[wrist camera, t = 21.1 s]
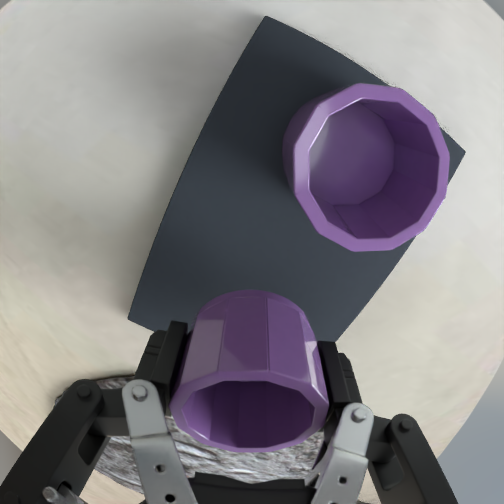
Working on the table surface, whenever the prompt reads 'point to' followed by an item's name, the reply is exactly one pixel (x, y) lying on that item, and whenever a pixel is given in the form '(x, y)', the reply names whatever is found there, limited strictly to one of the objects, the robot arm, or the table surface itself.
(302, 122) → the purple hollow cylinder
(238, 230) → the mat
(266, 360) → the purple faceted cup
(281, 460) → the ancient coin
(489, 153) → the table surface
